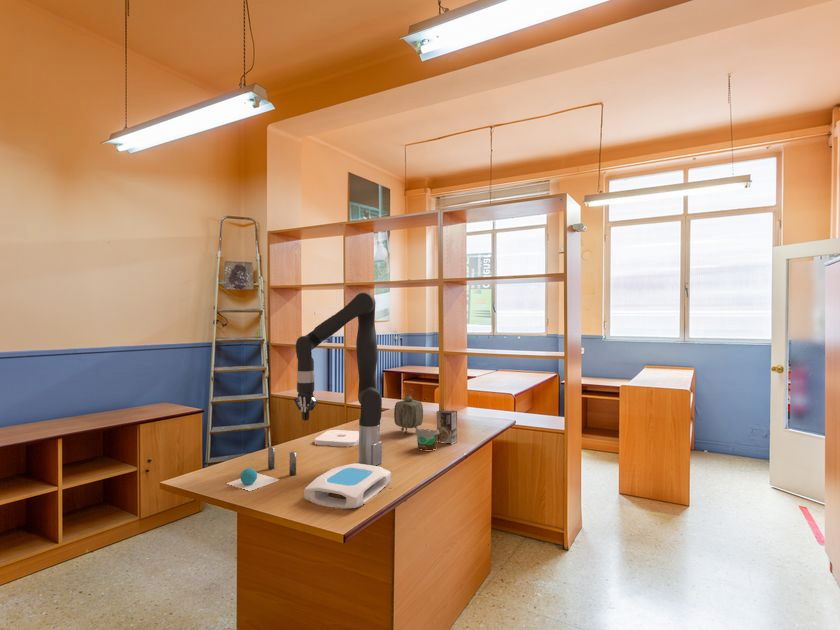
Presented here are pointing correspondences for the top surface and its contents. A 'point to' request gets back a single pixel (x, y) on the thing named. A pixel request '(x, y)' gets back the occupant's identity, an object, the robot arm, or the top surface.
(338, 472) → the step platform
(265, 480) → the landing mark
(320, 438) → the computer
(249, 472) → the ball
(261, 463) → the top surface
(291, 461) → the post
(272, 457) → the post
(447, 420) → the coffee box
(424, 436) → the food container
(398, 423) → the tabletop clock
